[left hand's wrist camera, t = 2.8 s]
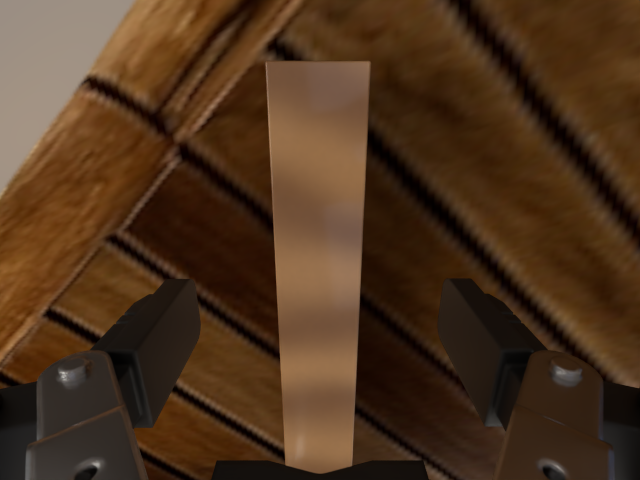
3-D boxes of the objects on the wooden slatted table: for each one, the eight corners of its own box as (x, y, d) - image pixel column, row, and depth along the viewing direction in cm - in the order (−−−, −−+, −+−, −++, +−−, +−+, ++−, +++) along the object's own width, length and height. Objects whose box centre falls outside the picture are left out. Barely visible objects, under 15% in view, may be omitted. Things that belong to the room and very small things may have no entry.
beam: (280, 74, 21) (265, 60, 15) (356, 74, 21) (371, 60, 15) (299, 579, 39) (295, 665, 33) (339, 579, 39) (342, 665, 33)
